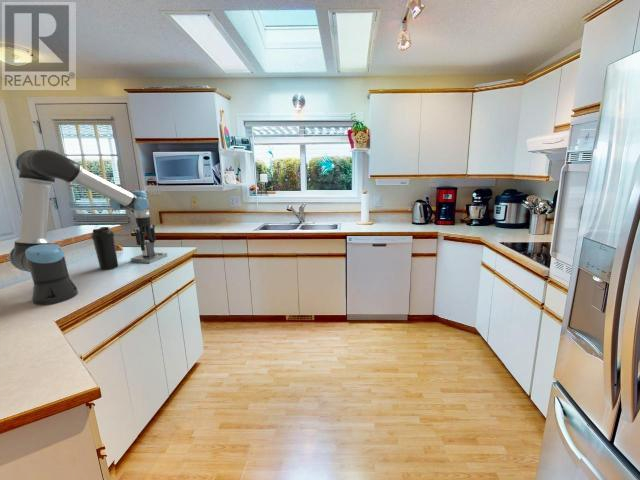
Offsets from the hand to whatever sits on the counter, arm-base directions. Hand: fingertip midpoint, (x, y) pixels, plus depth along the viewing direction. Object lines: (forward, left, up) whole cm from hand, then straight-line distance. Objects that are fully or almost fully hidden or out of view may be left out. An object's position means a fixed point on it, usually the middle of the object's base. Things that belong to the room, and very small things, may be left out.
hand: (148, 254), depth 183 cm
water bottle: (-18, +10, -3) cm, 21 cm away
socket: (0, 0, -3) cm, 3 cm away
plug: (0, 0, -2) cm, 2 cm away
